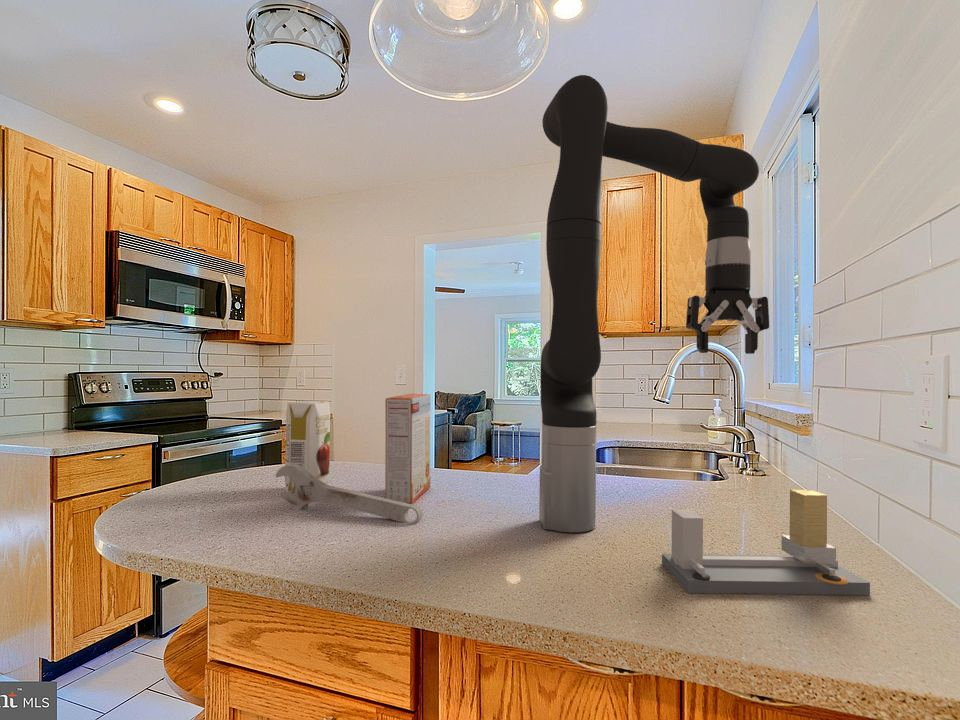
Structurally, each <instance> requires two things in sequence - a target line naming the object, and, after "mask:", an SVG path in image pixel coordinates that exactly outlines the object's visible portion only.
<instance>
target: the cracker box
mask: <svg viewBox="0 0 960 720" xmlns="http://www.w3.org/2000/svg"><path fill="white" fill-rule="evenodd" d="M431 404H432V403H431V394H428V393H427V394H426V393H425V394H424V393H423V394H422V393H407V394H401V395H396V396H390V397H387V398H385V403H384V405H385V417H384V418H385V445H384V447H385V449H384V451H385V455H384V456H385V457H384V458H385V461H384V462H385V463H384V464H385V469H384V470H385V473H384V474H385V476H384V478H385V479H384V480H385V481H384V483H385V484H384V485H385V493H384V495H385V496H384V498H386V499H391V500H395V501H399V502H404V503H408V504H412V505H414V503H415V502H416V501H417V500H418V499H419V498H420V497H421V496H423V495H424V494H425V493H426V492H427V491H428V490H429V489H430V488H431Z"/></svg>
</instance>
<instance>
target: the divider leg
mask: <svg viewBox="0 0 960 720" xmlns="http://www.w3.org/2000/svg"><path fill="white" fill-rule="evenodd" d="M781 551H783V552H784V553H786V554H788V555H791V556H793V557H794V558H796V559H798V560H799V561H801V562H803V563H804V564H815V567H816V568H818V569H820V570H821V571H823V572H825V573H826V574H828V575H830V576H835V570H834V569H832V568H830V567H829V566H827V565H825V564H836V560H837V548H836V547H835V546H832V545H830V544H828V495H827V494H825V493H821V492H819V491H816V490H813V489H789V534H781Z"/></svg>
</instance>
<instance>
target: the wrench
mask: <svg viewBox="0 0 960 720" xmlns="http://www.w3.org/2000/svg"><path fill="white" fill-rule="evenodd" d="M285 475H288V476H289V478H290V479H291V480H292V482H293V483H294V487H293V490H292V491H287V492H286V491H285V492H282V493H280V494H279V495H280V497H281V498H282V500H284V501H285V502H286V503H289V504H290V505H293V506H297V509H298V511H302V510H304V511H306V510H307V511H308V510H309V509H310V507H309V505H310V504H311V503H316V502H321V503H322V502H323V503H328V504H332V505H335V506H340V507H342V508H343V507H344V508H348V509H351V510H355V511H358V512H363V513H367V514H370V515H373V516H374V515H375V516H377V517H381V518H386V519H389V520H392V521H397V522H401V523H404V524H411V523H412V524H414V525H415V524H416V523H418V522H420V521H421V520H422V517H423V512H422V509H421V507H420V506H418V505H417V504H408V503H404V502H399V501H395V500H391V499H386V498H385V497H382V496H376V495H372V494H369V493H364V492H360V491H355V490H350V489H347V488H342V487H338V486H334V485H329V484H328V485H327V484H325V483H323V482H322V481H320V480H319V479H317V478H315V477H314V476H313V475H312V474H310V473H309V472H308V471H307V470H305V469H304V468H303V467H302V466H300V465H298V464H290V465H286V466H285V465H284V466H281V467H280V468H279V469H278V470H277V471H276V473H275V478H276V479H277V478H280V477H285ZM410 509H411V510H413V511H414V512H415V514H416V518H415V519H412V518H411V517H410V516H409V510H410Z"/></svg>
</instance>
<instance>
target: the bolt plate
mask: <svg viewBox="0 0 960 720" xmlns="http://www.w3.org/2000/svg"><path fill="white" fill-rule="evenodd" d="M703 543H704V517H702V516H700V515H699V514H697V513H696V512H695V511H693V510H692V509H671V553H661V565H662V566H663V568H664V569H665V570H666V571H667V572H668V573H669V574H670V575H671V576H672V577H673V579H674V580H676V581H677V582H678V584H679V585H680V586H681V587H682V588H683V589H684V590H685V592H687V593H688V594H737V593H739V594H740V593H741V594H742V593H743V595H744V593H745V595H748V594H749V595H751V594H752V595H754V594H755V593H756V594H757V593H758V594H757V595H759V594H760V595H762V594H763V595H818V596H819V595H821V596H822V595H827V596H828V595H829V596H830V595H831V596H832V595H833V596H834V595H835V596H837V595H838V596H870V595H871V583H870V582H869V580H868V581H867V580H866V579H864V578H863V577H861V576H859V575H857V574H854V573H853V572H852V571H849V570H848V569H846V568H844V567H842V566H840V565H839V561H838V560H837V559H836V564H825V565H827V566H829V567H830V568H832V569H834V570H835V576H830V575H828V574H826V573H825V572H823V571H821V570H820V569H818V568H816V567H815V564H804V563H803V562H801V561H799V560H798V559H796V558H794V557H793V556H791V555H789V554H788V555H786V554H784V555H783V554H781V555H780V554H777V555H776V554H720V553H718V554H715V553H714V554H713V553H712V554H707V553H704V549H703V548H704V544H703ZM746 593H747V594H746Z"/></svg>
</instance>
